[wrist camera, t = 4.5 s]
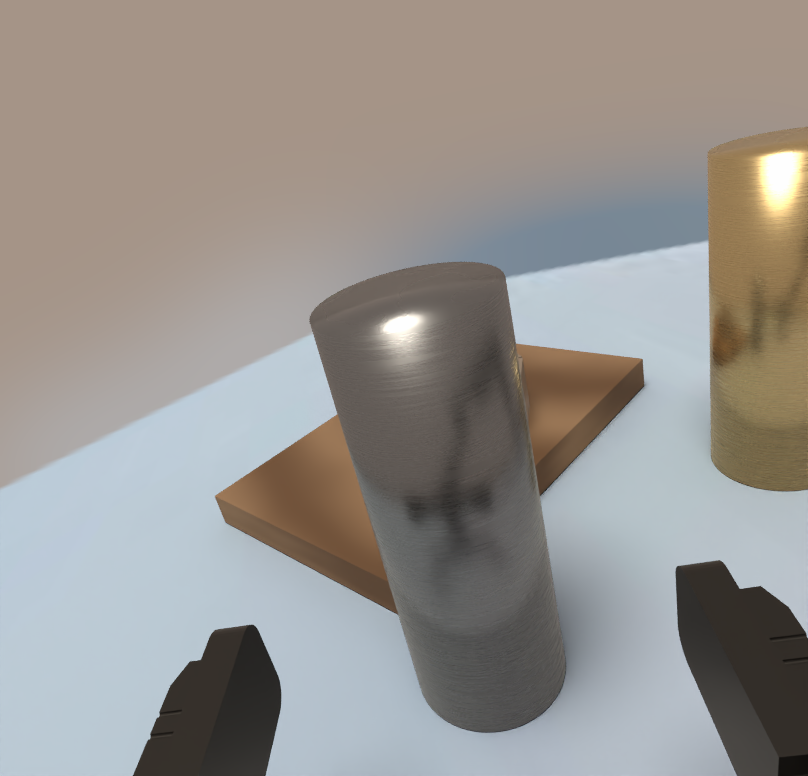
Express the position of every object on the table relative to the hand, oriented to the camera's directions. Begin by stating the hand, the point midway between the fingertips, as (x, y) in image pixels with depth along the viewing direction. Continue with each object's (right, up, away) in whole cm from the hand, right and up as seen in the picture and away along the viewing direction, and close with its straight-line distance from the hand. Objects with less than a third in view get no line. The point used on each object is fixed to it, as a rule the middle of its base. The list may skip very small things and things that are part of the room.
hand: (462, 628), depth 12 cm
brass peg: (+14, +2, +13) cm, 19 cm away
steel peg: (+2, -4, +7) cm, 9 cm away
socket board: (+1, +2, +19) cm, 19 cm away
